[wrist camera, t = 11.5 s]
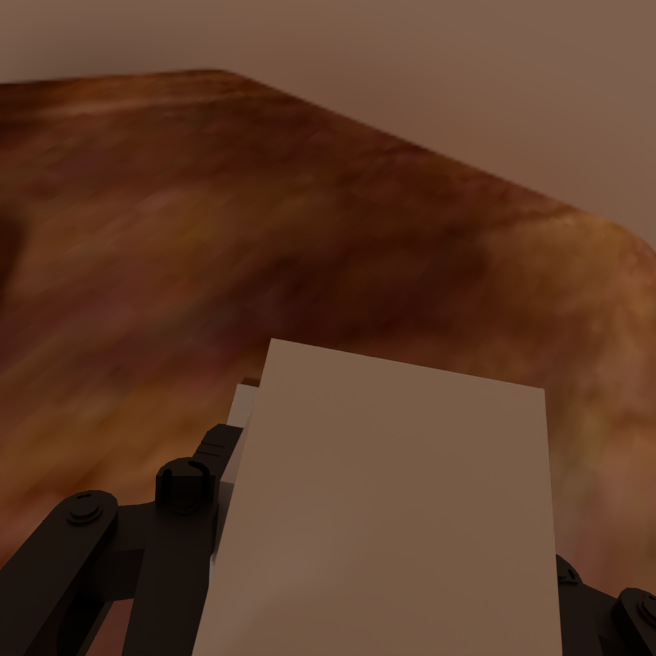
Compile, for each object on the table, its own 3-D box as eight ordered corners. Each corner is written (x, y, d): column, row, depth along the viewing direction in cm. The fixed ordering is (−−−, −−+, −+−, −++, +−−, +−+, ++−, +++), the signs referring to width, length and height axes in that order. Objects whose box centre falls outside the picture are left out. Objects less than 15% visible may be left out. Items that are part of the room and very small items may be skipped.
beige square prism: (254, 577, 17) (182, 692, 6) (283, 440, 19) (271, 337, 8) (388, 602, 17) (569, 764, 6) (400, 461, 19) (543, 389, 8)
